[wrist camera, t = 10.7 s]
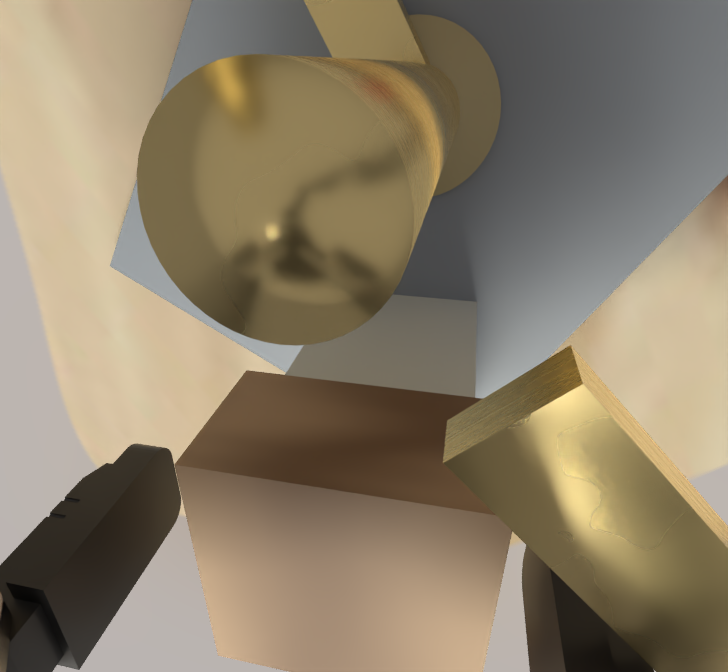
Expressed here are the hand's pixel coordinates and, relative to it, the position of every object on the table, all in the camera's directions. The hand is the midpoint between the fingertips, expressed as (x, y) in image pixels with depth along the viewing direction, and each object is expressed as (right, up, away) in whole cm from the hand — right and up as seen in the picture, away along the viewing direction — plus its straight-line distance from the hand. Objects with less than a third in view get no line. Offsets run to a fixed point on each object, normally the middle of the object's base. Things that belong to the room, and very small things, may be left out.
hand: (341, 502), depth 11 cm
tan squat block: (+1, 0, +1) cm, 1 cm away
